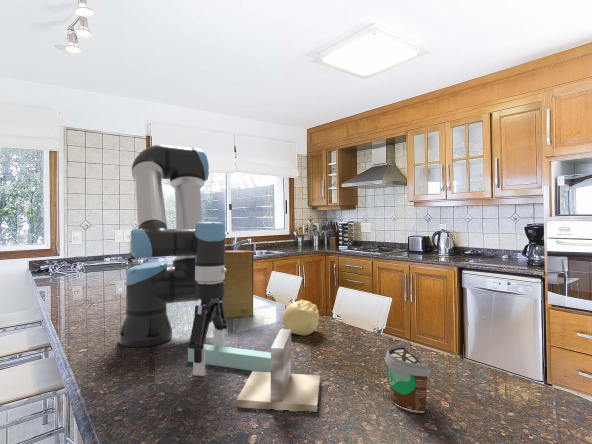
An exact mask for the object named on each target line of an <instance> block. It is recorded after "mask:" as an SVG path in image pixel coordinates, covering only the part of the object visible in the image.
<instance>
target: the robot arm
mask: <svg viewBox="0 0 592 444" xmlns="http://www.w3.org/2000/svg"><path fill="white" fill-rule="evenodd" d="M208 160H209V159H208V157H207V154H206V152H205V151H203V149H201V148H195V147H191V146H190V147H185V146H184V147H183V146H176V145H175V146H174V145H173V146H172V145H165V144H155V145H151V146H148V147H147V148H145V149H143V150H142V151H141V152H139V154H137V156H136V157H135V159H134V160H133V162H132V165H131V175H132V176H131V177H132V179H133V180H134V181H135V192H136V193H135V194H136V196H135V197H136V214H137V228H134V229H132V230H131V231H130V255H131V256H132V257H134V258H147V259H148V258H149V259H150V258H159V257H161V258H162V257H164V258H165V257H175V258H174V259H173V260H172V265H170V266H168V264H167V262H166V261H158V262H157V261H155V262H154V261H153V262H148V263H143V264H138V265H134V266H132V267H130V268H128V270H127V272H126V277H125V282H124V283H125V284H124V285H125V317H124V321H123V323H122V326H121V330H120V332H119V336H118V337H119V339H118V343H119V344H120V345H121V346H123V347H126V348H145V347H146V348H148V347H151V346H153V347H154V346H157V345H160V344H163V343H165V342H168V341H169V340H171V339H172V337H173V327H172V324H171V322H170V319H169V316H168V313H167V312H168V311H167V304H176V303H186V302H198V301H200V305H199V304H198V305H196V304H195V306H194V317H193V322H192V327H191V333H190V337H189V345H188V347H189V349H193V362H192V363H193V365H192V375H193V376H200V377H201V376H203V377H205V376H206V364H205V347H204V344H206V343H205V342H206V338H207V334H208V331H209V328H210V324H211V323H212V324H213V327H214V329H213V343H212V345H215V346H223V347H225V345H224V344H225V343H224V342H225V341H224V340H225V338H224V337H225V333H224V332H225V330H228V329H227V328H228V325H227V323H228V321H227V318H226V315H225V310H224V304H223V296H224V295H225V283H224V282H223V281H222V280H224V279H225V272H226V271H227V270H226V269H225V251H226V237H227V236H226V227H225V224H224V223H223V222H222V221H221V222H220V221H203V213H202V195H201V193H202V192H201V189H202V188H203V187H204V185H205V182H207V181H208V179H209V175H210V172H209V171H210V167H209V161H208ZM162 180H169V184H170V187H172V188H173V189H174V196H175V198H174V199H175V201H174V202H175V222H176V223H175V225H176V228H168V223H167V216H166V208H165V199H164V191H163V184H162Z"/></svg>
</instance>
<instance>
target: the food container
mask: <svg viewBox="0 0 592 444" xmlns="http://www.w3.org/2000/svg"><path fill="white" fill-rule="evenodd" d="M384 362H385V364H386V365H387V366H388V380H389V395H390V397H391V398H390V401H391V400H392V401H393V402H394V403H396V404H397V405H399V406H401V407H404V408H407V409H412V410H417V411H418V410H419V411H425V412H426V410H427V409H426V405H427V392H428V391H427V389H428V378H429V377H430V369H429V364H427V363H426V364H423V363H421V362H420V361H419V359H418V358H417V357H416V356H415V355H414V354H413V353H411V352H409V350H407V348H406V344H405V343H398V344H397V343H396V344H394V345H391V346H389V347H388V348H387V351H386V353H385V357H384Z"/></svg>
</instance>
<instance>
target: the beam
mask: <svg viewBox="0 0 592 444" xmlns="http://www.w3.org/2000/svg"><path fill="white" fill-rule="evenodd" d="M204 347H205V365H211V366H217V367H223V368H224V367H226V368H231V369H236V370H237V369H238V370H244V371H250V372H251V371H254V372H270V373H271V351H270V352H269V351H264V350H263V351H262V350H253V349H244V348H239V347H231V346H230V347H229V346H224V347H223V346H215V345H213V344H207V343H204ZM187 362H189V363H193V349H189V346H188V347H187Z"/></svg>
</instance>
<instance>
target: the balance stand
mask: <svg viewBox="0 0 592 444" xmlns="http://www.w3.org/2000/svg"><path fill="white" fill-rule="evenodd" d="M270 352H271V373H270V372H257V371H252V372H251V373H250V375H249V377H248V379H247V380H246V382H245V384H244V386H243V387H242V389H241V391H240V393H239V394H238V396H237V398H236V408H243V409H244V408H245V409H257V410H258V409H259V410H270V409H274V410H273V411H283V410H289V411H288V412H297V411H310V412H309V413H311V411H314V412H317V413H318V406H317V405H318V403H319V397H318V396H320V395H319V394H320V387H321V375H316V374H304V373H303V374H299V373H292V333H291V330H289V329H285V328H284V329H283V328H281V329H279V331H278V334H277V335H276V337H275V338H274V341H273V343H272V344H271V346H270ZM319 386H320V387H319Z"/></svg>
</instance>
